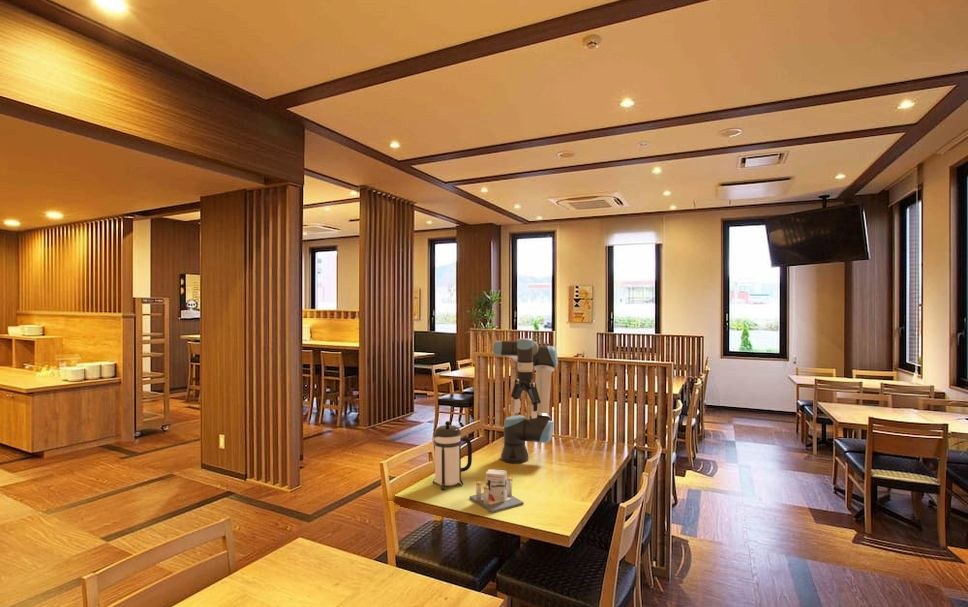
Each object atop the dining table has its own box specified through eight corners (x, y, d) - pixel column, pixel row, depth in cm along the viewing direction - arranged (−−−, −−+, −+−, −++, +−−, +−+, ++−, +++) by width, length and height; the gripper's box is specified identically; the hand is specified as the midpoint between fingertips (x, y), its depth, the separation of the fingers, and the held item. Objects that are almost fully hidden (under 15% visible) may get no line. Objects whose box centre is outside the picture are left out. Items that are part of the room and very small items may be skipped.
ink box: (485, 500, 209) (485, 472, 209) (488, 495, 214) (488, 468, 214) (504, 502, 207) (504, 474, 207) (507, 497, 211) (507, 470, 211)
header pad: (469, 498, 214) (469, 478, 214) (500, 490, 222) (499, 471, 222) (491, 513, 198) (491, 491, 198) (523, 504, 207) (523, 483, 207)
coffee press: (458, 492, 220) (457, 426, 220) (426, 488, 226) (426, 423, 226) (472, 479, 237) (472, 417, 237) (442, 475, 242) (442, 415, 242)
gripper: (504, 368, 242) (504, 411, 242) (535, 374, 221) (535, 421, 221) (516, 367, 246) (516, 409, 246) (548, 373, 225) (548, 419, 225)
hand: (525, 415), depth 234 cm, fingers open, 13 cm apart
